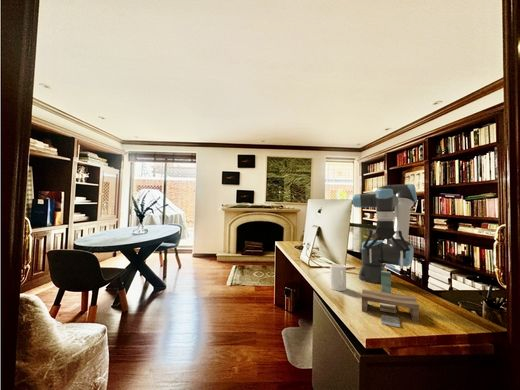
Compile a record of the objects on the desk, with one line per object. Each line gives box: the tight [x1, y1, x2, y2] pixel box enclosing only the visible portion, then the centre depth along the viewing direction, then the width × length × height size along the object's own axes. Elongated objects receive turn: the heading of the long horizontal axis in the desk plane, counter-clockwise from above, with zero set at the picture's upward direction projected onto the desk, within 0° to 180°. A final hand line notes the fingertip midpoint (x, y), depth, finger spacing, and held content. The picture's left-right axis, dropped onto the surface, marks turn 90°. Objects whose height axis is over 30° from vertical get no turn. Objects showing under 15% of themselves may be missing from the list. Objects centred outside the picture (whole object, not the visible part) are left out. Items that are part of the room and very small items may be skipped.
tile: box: [380, 314, 401, 328], centre depth 91 cm, size 6×6×2 cm
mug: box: [329, 263, 347, 292], centre depth 127 cm, size 12×8×12 cm
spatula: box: [379, 270, 397, 314], centre depth 109 cm, size 20×6×12 cm, turn 155°
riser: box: [361, 288, 420, 322], centre depth 100 cm, size 10×20×6 cm, turn 65°
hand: (385, 263), depth 118 cm, fingers open, 13 cm apart
